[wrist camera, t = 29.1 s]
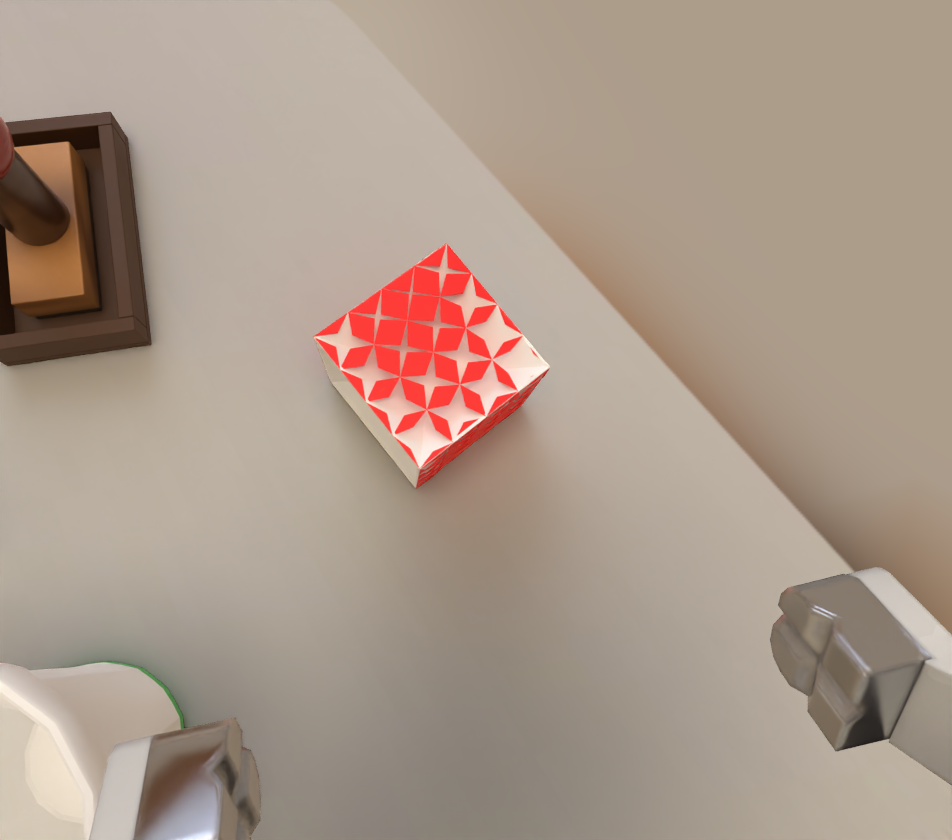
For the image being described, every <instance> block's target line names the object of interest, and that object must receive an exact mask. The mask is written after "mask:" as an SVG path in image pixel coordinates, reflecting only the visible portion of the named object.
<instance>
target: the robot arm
mask: <svg viewBox="0 0 952 840" xmlns="http://www.w3.org/2000/svg"><path fill="white" fill-rule="evenodd" d="M778 606H779V607H780V609H781V610H782V611H783V613H784V614H783V615H782V616H781V617H780V618H779V619H778V620H777V621H776V622H775V623H774V624H773V627H772V633H771V638H770V642H771V647H772V652H773V657H774V659H775V661H776V663H777V666H778V668H779V670H780V672H781V673H782V675H783V676H784V678H785V679H786V681H787V682H788V684H789V685H790V686H791V687H793V688H795V689H797V690H798V691H800V692H802V693H804V694H805V695H807V696H808V713H809V714H810V716H811V717H812V718H813V720H814V721H815V723H816V724H817V725H818V727H819V728H820V730H821V731H822V733H823V734H824V735H825V737H826V738H827V740H828V741H829V743H830V744H831V745H832V747H833V748H834V750H835V751H840V750H844V749H848V748H852V747H856V746H860V745H865V744H869V743H873V742H877V741H881V740H885V739H890V740H889V743H891V744H892V745H894V746H895V747H897V748H898V749H899V750H901V751H902V752H904V753H905V754H907V755H908V756H910V757H911V758H913V759H914V760H916V761H917V762H918V763H920V764H921V765H923V766H924V767H926V768H927V769H929V770H930V771H932V772H933V773H934V774H936V775H937V776H939V777H940V778H942V779H943V780H945V781H946V782H948V783H949V784H951V785H952V635H951V634H950V633H949V632H948V631H947V630H946V629H945V628H944V627H943V626H942V625H941V624H940V623H939V622H938V621H937V620H936V619H935V618H934V617H933V616H932V615H931V614H930V613H929V612H928V611H927V610H926V609H925V608H924V607H923V606H922V605H921V604H920V603H919V602H918V601H917V600H916V599H915V598H914V597H913V596H912V595H911V594H910V593H909V592H908V591H907V590H906V589H905V588H904V587H903V586H902V585H901V584H900V583H899V582H898V581H897V580H896V579H895V578H894V577H893V576H892V575H891V574H890V573H889V572H888V571H886V570H884V569H882V568H880V567H877V568H870V569H866V570H862V571H858V572H854V573H850V574H846V575H845V574H841V575H837V576H833V577H829V578H825V579H821V580H817V581H813V582H809V583H805V584H801V585H797V586H793V587H789V588H787V589H786V590H785V591H784V592H782V593H781V596H780V600H779V603H778ZM242 732H243V731H242V729H241V727H240V725H239V723H238V721H237V719H236V718H231V719H226V720H222V721H217V722H212V723H208V724H203V725H198V726H194V727H189V728H185V729H180V730H175V731H171V732H166V733H161V734H155V735H151V736H146V737H142V738H138V739H133V740H129V741H125V742H120V743H116V744H115V746H114V748H113V750H112V752H111V753H110V755H109V757H108V760H107V764H106V769H105V773H104V777H103V781H102V786H101V790H100V794H99V798H98V803H97V807H96V811H95V816H94V820H93V824H92V828H91V833H90V837H89V840H252V839H251V837H250V836H251V834H252V833H253V831H254V829H255V828H256V826H257V825H258V823H259V821H260V810H261V795H260V784H259V775H258V770H257V766H256V762H255V759H254V757H253V754H252V752H251V750H249V749H247V748H245V747H242Z"/></svg>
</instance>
